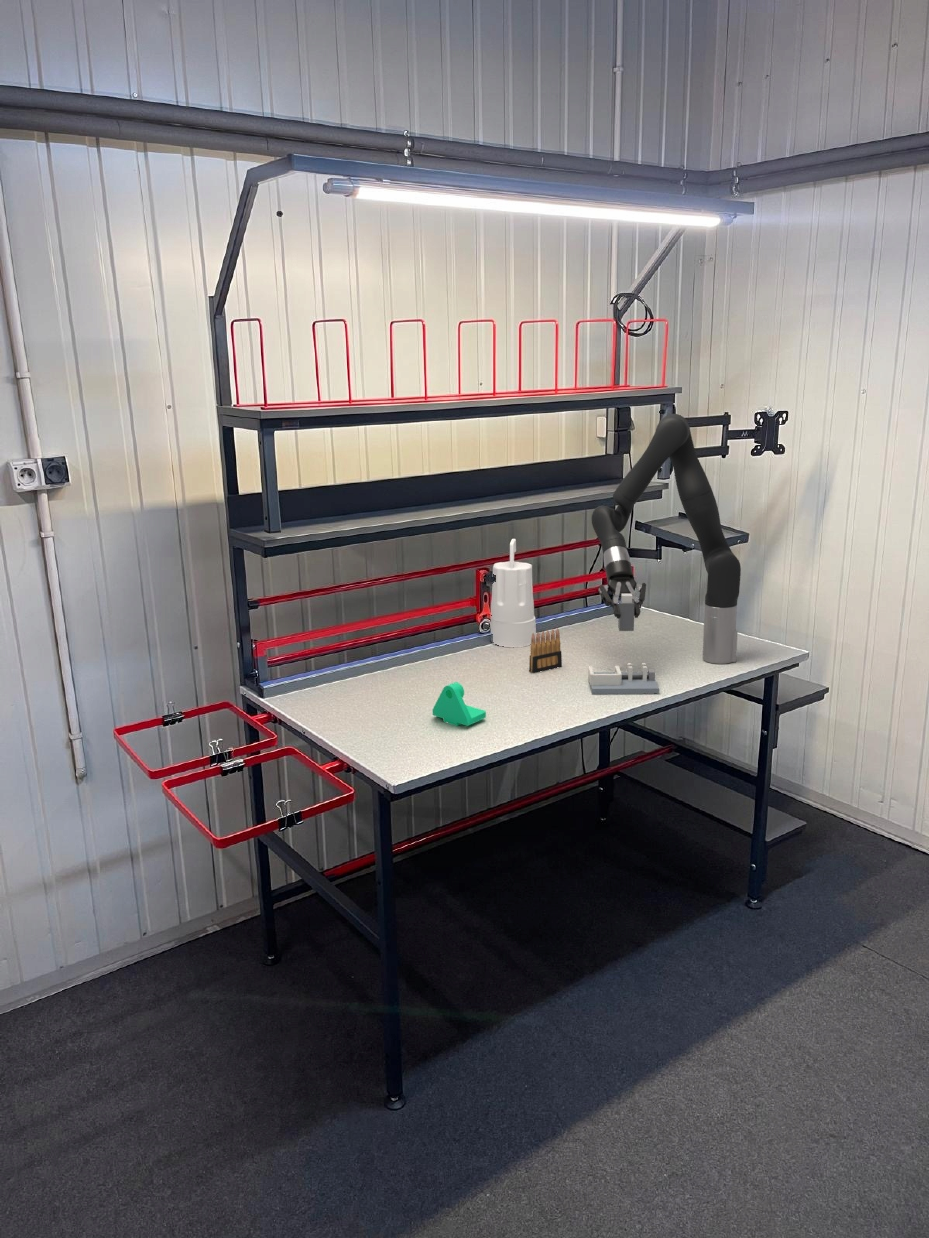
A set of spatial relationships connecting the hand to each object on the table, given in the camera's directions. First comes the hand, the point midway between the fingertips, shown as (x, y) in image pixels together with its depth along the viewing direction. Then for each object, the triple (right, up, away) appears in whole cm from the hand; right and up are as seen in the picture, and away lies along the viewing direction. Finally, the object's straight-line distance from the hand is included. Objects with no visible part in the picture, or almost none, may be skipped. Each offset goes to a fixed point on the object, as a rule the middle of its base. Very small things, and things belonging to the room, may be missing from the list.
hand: (628, 616), depth 253 cm
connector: (0, -3, +3) cm, 5 cm away
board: (-2, -19, -1) cm, 19 cm away
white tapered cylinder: (-30, -8, +44) cm, 54 cm away
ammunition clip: (-22, -16, +15) cm, 31 cm away
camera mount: (-47, -27, -22) cm, 58 cm away
